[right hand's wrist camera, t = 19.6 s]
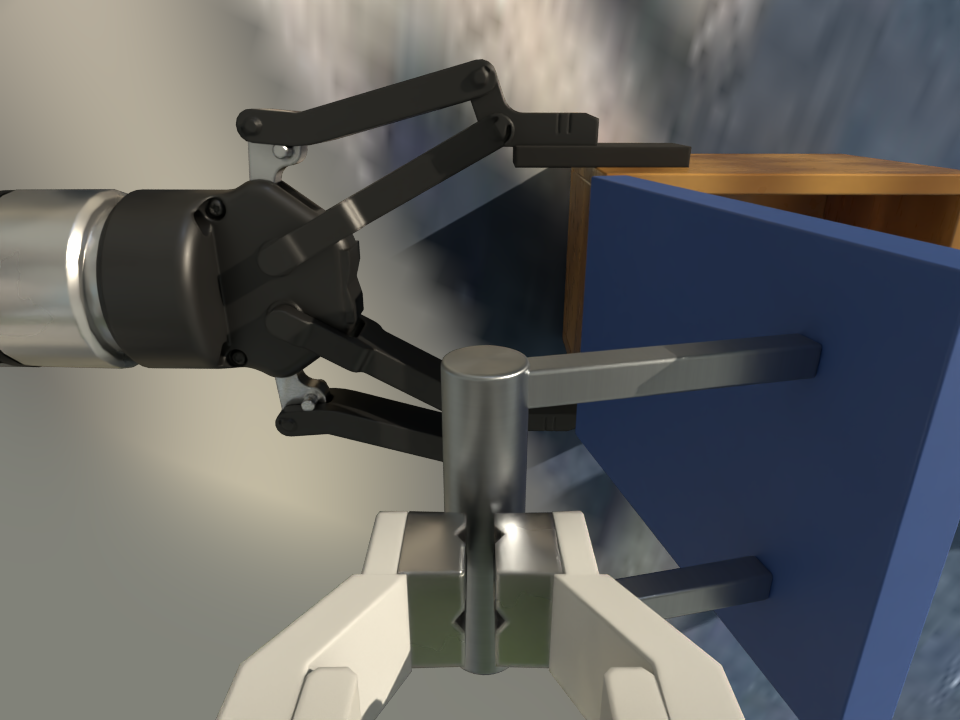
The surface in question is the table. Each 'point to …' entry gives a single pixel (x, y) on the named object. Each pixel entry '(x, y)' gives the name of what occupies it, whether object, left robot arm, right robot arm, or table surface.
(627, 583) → the lid
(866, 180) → the chest
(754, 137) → the table surface
